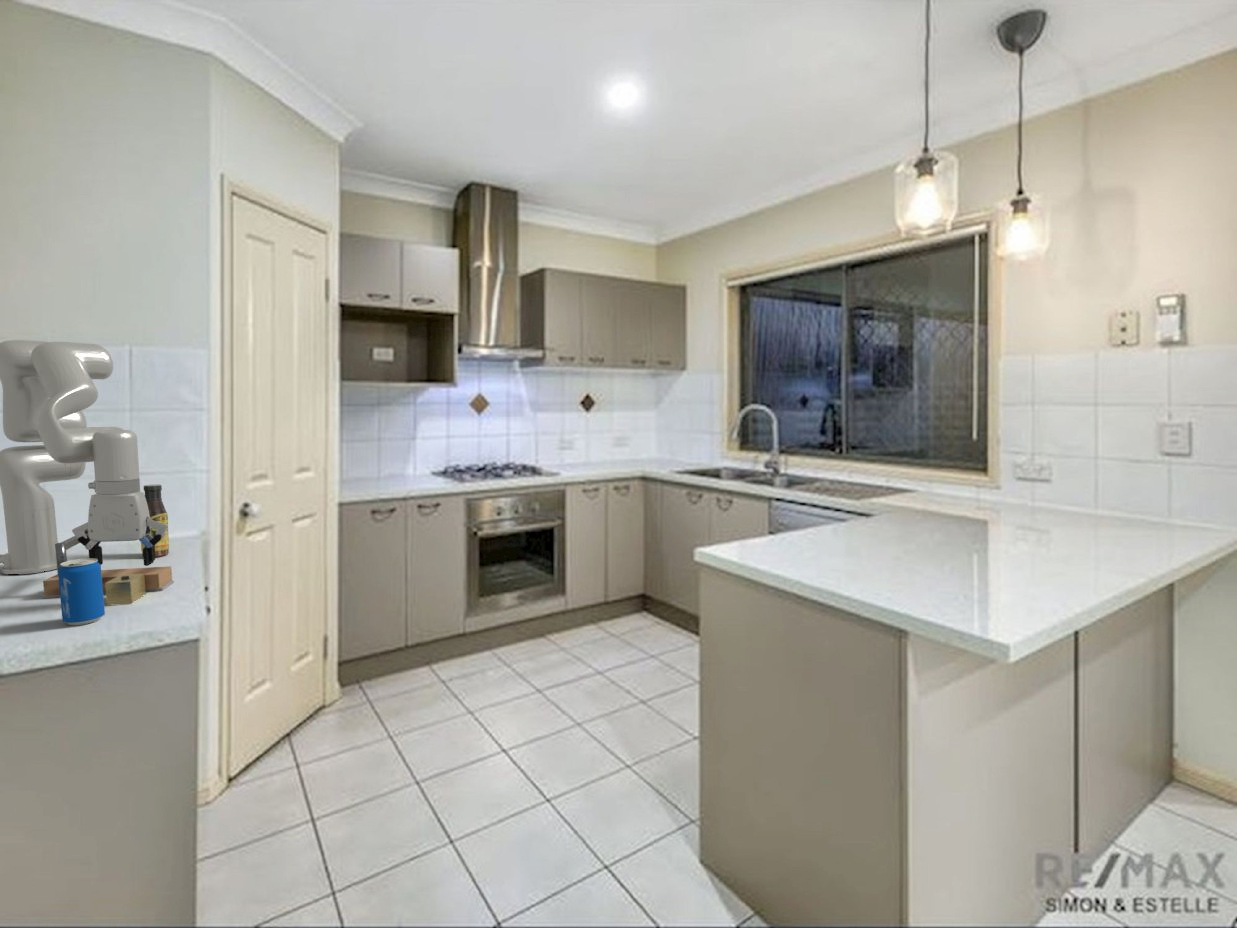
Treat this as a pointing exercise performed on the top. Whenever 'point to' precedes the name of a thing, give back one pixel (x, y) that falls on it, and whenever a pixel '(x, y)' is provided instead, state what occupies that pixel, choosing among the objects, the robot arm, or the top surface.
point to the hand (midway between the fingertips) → (123, 565)
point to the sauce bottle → (157, 517)
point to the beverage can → (81, 591)
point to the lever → (62, 548)
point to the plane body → (153, 576)
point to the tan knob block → (125, 589)
